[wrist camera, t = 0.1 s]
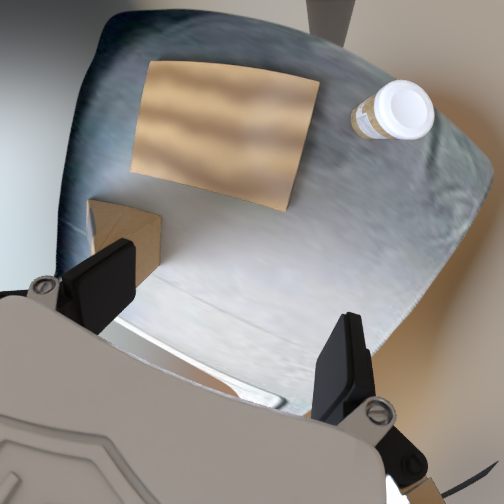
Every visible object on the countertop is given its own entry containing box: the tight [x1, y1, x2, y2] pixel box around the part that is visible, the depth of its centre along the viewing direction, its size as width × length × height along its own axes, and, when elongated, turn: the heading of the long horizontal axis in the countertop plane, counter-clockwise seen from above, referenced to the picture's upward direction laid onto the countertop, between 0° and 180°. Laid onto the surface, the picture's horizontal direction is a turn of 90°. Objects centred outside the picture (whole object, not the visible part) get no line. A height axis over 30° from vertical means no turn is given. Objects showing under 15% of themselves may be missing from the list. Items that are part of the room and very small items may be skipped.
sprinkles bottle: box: [351, 80, 434, 140], centre depth 21 cm, size 5×5×14 cm
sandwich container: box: [87, 199, 162, 288], centre depth 33 cm, size 9×15×15 cm, turn 80°
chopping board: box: [131, 61, 320, 212], centre depth 31 cm, size 16×22×2 cm
